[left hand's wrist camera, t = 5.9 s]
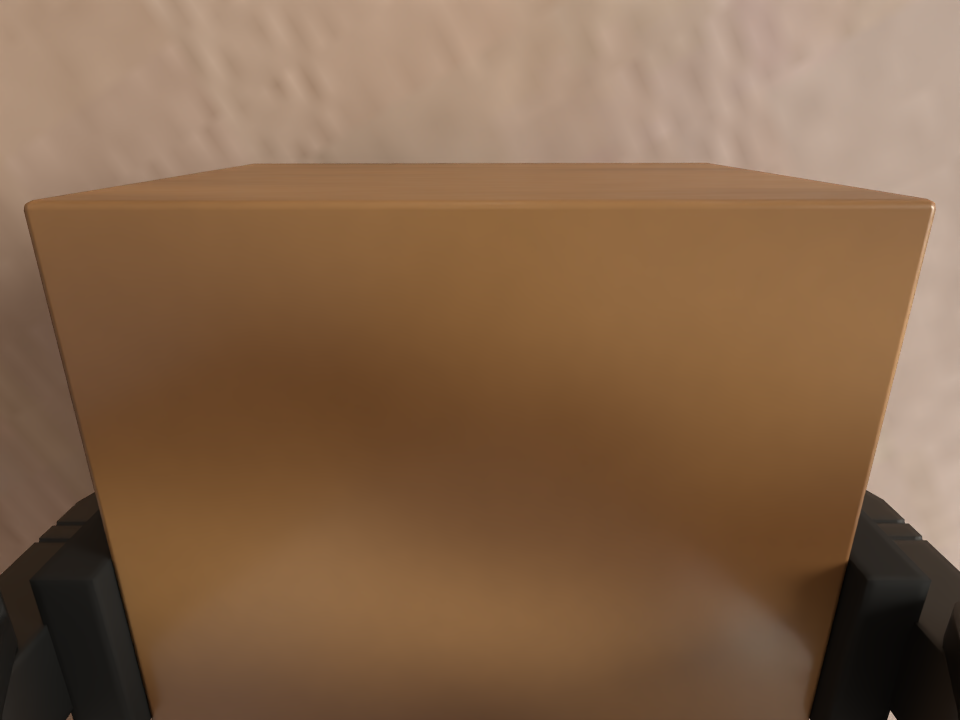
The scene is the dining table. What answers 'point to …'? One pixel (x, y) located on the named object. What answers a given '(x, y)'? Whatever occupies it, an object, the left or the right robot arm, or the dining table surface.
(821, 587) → the slab
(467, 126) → the dining table surface
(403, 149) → the dining table surface
